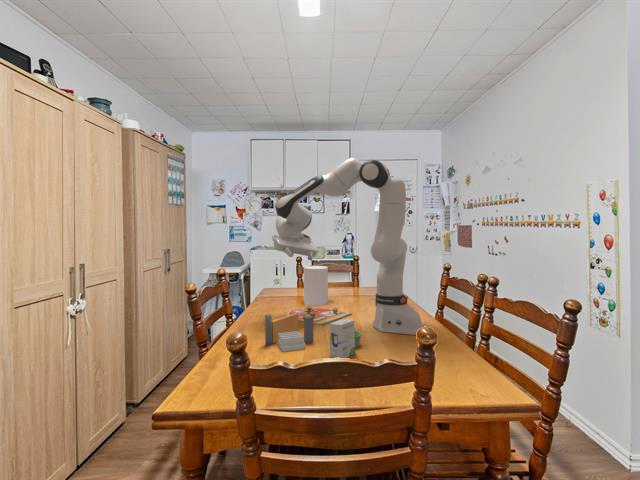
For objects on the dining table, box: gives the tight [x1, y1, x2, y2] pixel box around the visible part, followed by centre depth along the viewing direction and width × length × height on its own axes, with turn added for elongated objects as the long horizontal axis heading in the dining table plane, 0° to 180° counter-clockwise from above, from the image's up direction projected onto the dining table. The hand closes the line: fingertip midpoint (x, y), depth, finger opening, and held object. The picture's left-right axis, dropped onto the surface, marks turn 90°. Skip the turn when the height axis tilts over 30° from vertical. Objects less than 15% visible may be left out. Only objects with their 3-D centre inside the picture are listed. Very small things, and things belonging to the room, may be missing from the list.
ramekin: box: [355, 330, 362, 349], centre depth 138 cm, size 9×9×4 cm
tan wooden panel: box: [272, 313, 299, 345], centre depth 142 cm, size 14×2×8 cm, turn 145°
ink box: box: [328, 318, 356, 359], centre depth 127 cm, size 9×5×12 cm, turn 141°
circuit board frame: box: [264, 314, 314, 353], centre depth 138 cm, size 20×20×12 cm
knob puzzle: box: [285, 305, 353, 326], centre depth 181 cm, size 29×30×4 cm
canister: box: [303, 265, 329, 307], centre depth 209 cm, size 14×14×20 cm
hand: (301, 257), depth 158 cm, fingers open, 8 cm apart
